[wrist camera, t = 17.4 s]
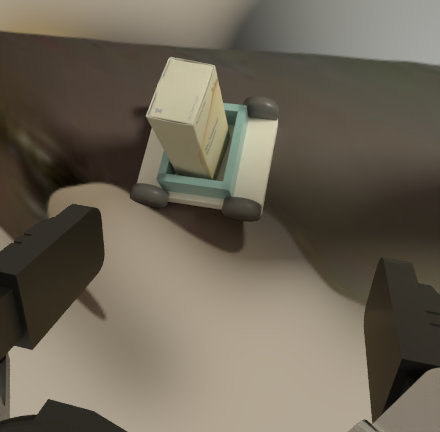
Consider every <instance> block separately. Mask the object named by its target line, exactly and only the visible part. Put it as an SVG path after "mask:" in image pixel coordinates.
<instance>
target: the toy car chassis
mask: <svg viewBox="0 0 440 432" xmlns="http://www.w3.org/2000/svg"><path fill="white" fill-rule="evenodd" d="M223 106H224V110H225V115H226V119H227V124H228V129H229V134H230V140H229V143H228V146H227V149H226V153H225V155H224V158H223V161H222V164H221V167H220V170H219V173H218V176H217V178H216V180H208V179H201V178H194V177H187V176H180V175H177V173H176V171H175V170H174V168H173V166H172V164H171V162H170V160H169V158H168V156H167V155H166V153H165V151H164V149H163V147H162V145H161V143H160V142H159V140H158V138H157V136H156V134H155V132H154V130H153V128H152V129H151V133H150V137H149V140H148V144H147V148H146V151H145V155H144V159H143V162H142V166H141V170H140V173H139V177H138V181H137V183H136V184H133V186H132V190H131V193H130V198H131V199H132V200H133V201H135V202H137V203H140V204H142V205H146V206H150V207H156V208H163V207H166V206H167V202H174V203H181V204H187V205H194V206H201V207H207V208H214V209H221V210H222V211H221V212H222V214H224V215H225V216H227V217H229V218H232V219H236V220H240V221H258V220H259V219H260V215H262V212H263V206H264V201H265V195H266V189H267V184H268V178H269V172H270V167H271V161H272V155H273V150H274V144H275V138H276V133H277V127H278V113H279V105H278V104H277V103H276V102H275V101H274V100H272V99H270V98H267V97H262V96H253V97H249V98H247V99H246V100H245V101H244V104H243V105H237V104H227V103H223Z"/></svg>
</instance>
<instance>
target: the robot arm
mask: <svg viewBox="0 0 440 432" xmlns="http://www.w3.org/2000/svg"><path fill="white" fill-rule="evenodd" d="M103 261H104V242H103V231H102V219H101V213H100V211H99V210H98V209H97V208H94V207H88V206H82V205H76V204H72V205H70V206H68V207H67V208H66V209H65V210H63V211H62V212H61V213H60V214H58V215H57V216H56V217H52V218H50V219H47V220H45V221H42V222H40V223H38V224H36V225H34V226H33V227H32V228H30V229H29V230H28V231H26V232H25V233H24V235H21V236H20V237H19V238H17V239H16V240H15V241H14V243H11V244H9V245H8V246H7V247H5V248H4V249H3V250H2V251H0V432H127V431H125V430H124V429H122V428H120V427H119V426H117V425H115V424H114V423H112V422H110V421H109V420H107V419H106V418H104V417H102V416H100V415H99V414H97V413H96V412H94V411H91V410H87V409H84V408H80V407H76V406H72V405H69V404H65V403H61V402H57V401H54V400H50V399H48V400H47V402H46V403H45V405H44V406H43V407H42V409H41V410H40V411H39V413H38V414H37V415H27V416H19V417H14V418H10V359H9V355H8V351H10V349H11V348H12V347H13V346H18V347H22V348H27V349H31V350H33V349H34V347H35V346H36V345H37V344H38V343H39V342H40V340H41V339H42V338H43V337H44V336H45V335H46V333H47V332H48V331H49V330H50V329H51V328H52V326H53V325H54V324H55V323H56V322H57V321H58V319H59V318H60V317H61V316H62V315H63V314H64V312H65V311H66V310H67V309H68V308H69V307H70V305H71V304H72V303H73V302H74V301H75V300H76V298H77V297H78V296H79V295H80V294H81V293H82V291H83V290H84V289H85V288H86V287H87V286H88V284H89V283H90V282H91V281H92V280H93V279H94V277H95V276H96V275H97V274H98V273H99V271H100V269H101V267H102V265H103ZM364 334H365V345H366V357H367V367H368V379H369V390H370V400H371V412H372V424H370V423H369V422H368V421H367V420H362V421H360V422H359V423H357V424H356V425H355V426H354V427H353V428H352V429H351V430H350V431H348V432H440V295H439V294H438V293H437V292H436V291H435V289H434V288H433V287H432V286H430V285H424V284H419V283H418V281H417V278H416V274H415V271H414V267H413V264H412V263H410V262H404V261H398V260H392V259H386V258H381V259H380V260H379V263H378V266H377V269H376V272H375V276H374V279H373V283H372V286H371V290H370V293H369V297H368V300H367V304H366V308H365V315H364Z"/></svg>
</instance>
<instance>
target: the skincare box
mask: <svg viewBox="0 0 440 432" xmlns="http://www.w3.org/2000/svg"><path fill="white" fill-rule="evenodd" d="M146 117H147V119H148V121H149V123H150V125H151V127H152V128H153V130H154V132H155V134H156V136H157V138H158V140H159V142H160V143H161V145H162V147H163V149H164V151H165V153H166V155H167V156H168V158H169V160H170V162H171V164H172V166H173V168H174V170H175V171H176V173H177V175H180V176H187V177H194V178H201V179H208V180H216V178H217V176H218V173H219V170H220V167H221V164H222V161H223V158H224V155H225V153H226V149H227V146H228V143H229V140H230V134H229V129H228V124H227V119H226V115H225V110H224V106H223V101H222V97H221V92H220V87H219V83H218V78H217V73H216V69H215V66H214V65H210V64H205V63H200V62H195V61H190V60H184V59H179V58H173V57H171V58H169V60H168V62H167V64H166V67H165V69H164V72H163V74H162V76H161V79H160V81H159V83H158V86H157V88H156V91H155V94H154V96H153V99H152V101H151V104H150V107H149V109H148V112H147V114H146Z"/></svg>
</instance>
